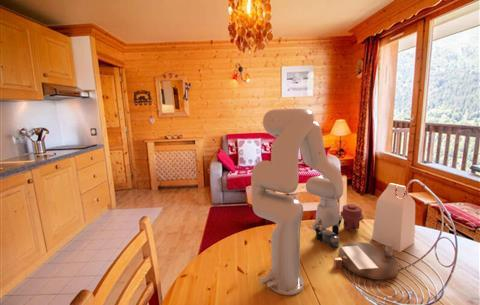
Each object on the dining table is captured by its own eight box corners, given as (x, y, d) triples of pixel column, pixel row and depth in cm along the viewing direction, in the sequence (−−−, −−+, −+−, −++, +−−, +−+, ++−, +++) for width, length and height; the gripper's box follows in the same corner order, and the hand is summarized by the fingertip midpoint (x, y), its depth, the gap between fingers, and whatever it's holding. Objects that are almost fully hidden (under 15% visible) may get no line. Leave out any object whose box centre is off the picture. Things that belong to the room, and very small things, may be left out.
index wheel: (337, 271, 88) (338, 254, 87) (339, 242, 106) (340, 228, 105) (402, 285, 80) (404, 267, 79) (393, 252, 98) (394, 237, 97)
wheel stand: (350, 279, 85) (351, 270, 85) (332, 266, 92) (333, 258, 92) (379, 265, 92) (379, 257, 91) (360, 254, 99) (360, 246, 98)
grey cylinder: (334, 249, 103) (334, 239, 103) (314, 236, 114) (314, 227, 113) (341, 246, 105) (341, 237, 104) (320, 234, 116) (320, 225, 115)
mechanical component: (359, 225, 123) (365, 235, 113) (338, 224, 125) (342, 234, 115) (360, 202, 121) (366, 210, 111) (339, 201, 123) (343, 209, 113)
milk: (371, 239, 110) (375, 184, 106) (386, 231, 116) (390, 179, 111) (400, 251, 100) (405, 191, 95) (414, 243, 106) (420, 185, 101)
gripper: (335, 195, 113) (334, 228, 116) (307, 202, 106) (306, 238, 109) (349, 200, 107) (347, 236, 110) (319, 209, 99) (319, 247, 102)
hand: (327, 237), depth 109 cm, fingers open, 9 cm apart
